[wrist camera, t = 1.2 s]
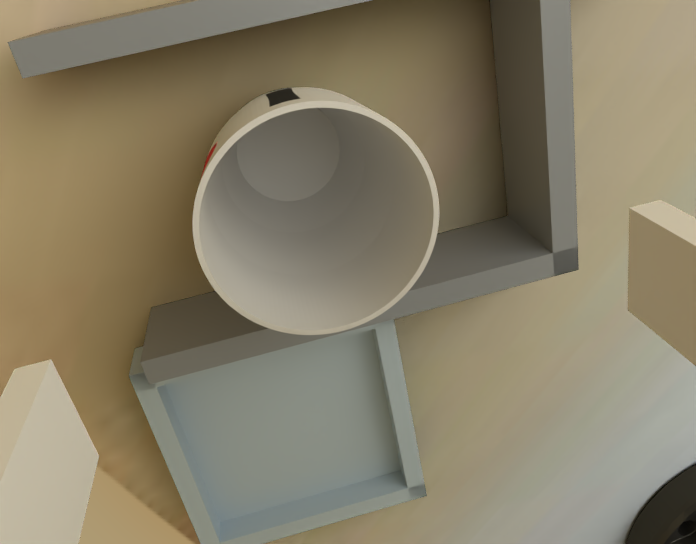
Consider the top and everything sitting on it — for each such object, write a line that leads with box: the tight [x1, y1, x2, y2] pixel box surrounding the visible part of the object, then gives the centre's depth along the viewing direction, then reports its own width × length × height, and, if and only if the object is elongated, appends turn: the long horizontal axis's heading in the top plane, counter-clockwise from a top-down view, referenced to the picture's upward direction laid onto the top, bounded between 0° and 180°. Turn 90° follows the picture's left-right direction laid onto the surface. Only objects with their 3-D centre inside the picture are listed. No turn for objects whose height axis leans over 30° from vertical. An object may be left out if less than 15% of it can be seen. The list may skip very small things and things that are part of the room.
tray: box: [129, 319, 427, 544], centre depth 35 cm, size 13×13×2 cm
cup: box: [192, 87, 439, 335], centre depth 25 cm, size 8×8×10 cm
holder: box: [8, 0, 578, 385], centre depth 27 cm, size 14×20×5 cm
